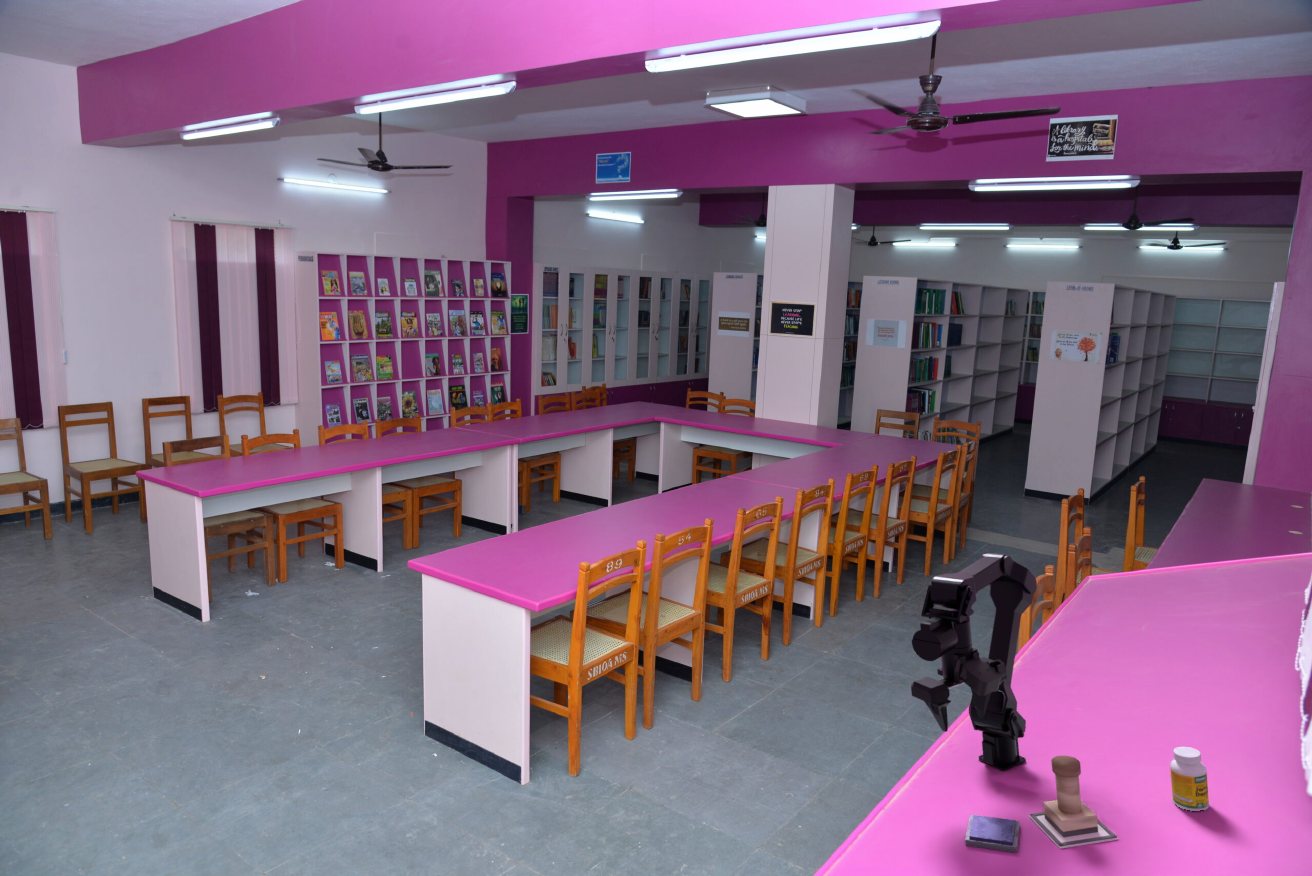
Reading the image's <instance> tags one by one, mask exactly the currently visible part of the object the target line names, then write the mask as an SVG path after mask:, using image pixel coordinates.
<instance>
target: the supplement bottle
mask: <svg viewBox="0 0 1312 876" xmlns="http://www.w3.org/2000/svg"><path fill="white" fill-rule="evenodd" d="M1169 766H1170V767H1169V769H1170V770H1169V771H1170V781H1171V796H1172V801H1173V804H1176V805H1177V807H1178V808H1179V807H1180V808H1179V809H1181V808H1183V809H1182V810H1184V809H1186V810H1185V811H1187V810H1190V811H1189V812H1192V811H1200V810H1204V811H1207V810H1208V808H1209V807H1210V804H1209V803H1210V801H1209V785H1208V771H1207V768H1206V766H1205V764H1204V763H1203V762H1202V753H1201V752H1200V751H1199V750H1198V749H1196V748H1194V747H1190V746H1189V747H1188V746H1177V747H1175V748H1174V749H1173V759H1172V760H1171V761H1170V764H1169ZM1176 805H1175V806H1176Z"/></svg>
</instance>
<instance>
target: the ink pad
mask: <svg viewBox="0 0 1312 876" xmlns="http://www.w3.org/2000/svg"><path fill="white" fill-rule="evenodd" d="M1020 827H1021V826H1020V820H1015V819H1009V818H1001V817H993V816H985V815H977V814H970V815H969V820H968V824H967V829H966V834H965V839H964V841H965V843H964V844H965V846H966V847H974V848H980V849H988V850H995V851H1000V852H1001V851H1002V852H1006V853H1007V852H1009V853H1015V854H1017V853H1018V847H1019V837H1020Z"/></svg>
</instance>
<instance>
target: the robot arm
mask: <svg viewBox="0 0 1312 876" xmlns="http://www.w3.org/2000/svg"><path fill="white" fill-rule="evenodd" d="M1037 585H1038V582H1037V578H1036V577H1035V576H1034V574H1033V573H1032V571H1030V569H1029V568H1027V567H1025V566H1024V565H1022V564H1020V563H1018V562H1016V561H1015V560H1013V558H1012V557H1011V556H1010V555H1008V554H1005V553H994V552H987V553H983V554H982V555H981V557H980V558H979V559H978V560H976V561H974V562H972V563H971V564H970V565H968V566H967V567H965V568H962V569H961V570H960V571H958V572H955V573H954V572H953V573H943V574H939V575H935V576H933V578H932V579H931V580H930V582H929V584H928V585H927V589H926V594H925V597H924V598H925V599H924V602H923V605H922V606H923V607H922V610H921V614H920V615H921V617H922V618H928V619H927V620H924V621H922V622H920V624H919V625H920V626H919V629H918V630H916V631H915V632H914V634H913V636H912V639H911V645H912V649H913V650H914V653H915V654H916V655H917V656H918V657H919V658H920V659H922V660H924V661H926V662H934V661H936V660H938V659H940V660H941V661H940V662H941V667H939V668H937V670H936V671H937V675H939V676H942V678H943V679H940V680H937V679H935V678H932V677H931V676H926V677H923V678H919V679H918V680H917V679H916V680H914V681H913V682H912V683H911V684H910V693H911V696H912V697H913V698H916V699H918V700H920V701H922V702H924V703H925V706H927V708H928V710H929V711H930V712H931V713H932V715H933V717H934V719H935V721H936V722H937V724H938V726H939V728H940V729H941V731H943V732H945V733H947V732H948V728H949V722H948V720H949V719H948V708H947V707H948V706H949V705H950V704H951V703H952V701H951V700H950V699H949V697H950V690H951V689H954V688H956V687H958V686H959V687H960V686H962V685H965V684H966V686H968V687H969V688H970V690H971V700H970V703H969V705H968V716H969V718H970V720H971V724H972V728H973V730H974V731H980V732H981V734H982V735H981V736H982V741H981V746H982V747H981V748H982V754H981V755H979V756H978V760H980V761H982V762H984V763H986V764H988V765H990V766H992V767H994V768H997V769H998V770H1000V771H1007V770H1009V769H1011V768H1013V767H1016V766H1018V765H1020V764H1022V763H1025V762H1027V759H1026V757H1025V756H1024V757H1023V756H1021V755H1020V750H1019V749H1020V748H1019V739H1020V738H1021V739H1022V738H1024V737H1025V732H1026V729H1027V727H1026V725H1027V724H1026V723H1027V722H1026V719H1025V718H1024V717H1023V716H1022V715H1021V714H1020V713H1019V711H1018V701H1017V699H1016V696H1015V694H1014V692H1013V689H1012V687H1011V686H1012V680H1013V679H1012V678H1013V671H1014V665H1015V658H1016V653H1017V646H1018V645H1017V644H1018V638H1019V633H1020V632H1019V631H1020V624H1021V620H1022V618H1021V617H1022V615H1023V614H1024V613H1025V611H1026V610H1027V609H1028V608H1029V607H1031V605H1032V604H1033V600H1034V594H1035V593H1036V591H1037V587H1038V586H1037ZM987 586H988V587H989V596H990V598H991V600H992V603H993V605H994V608H995V613H994V619H993V625H992V633H991V640H990V644H989V651H988V657H985V656H984V657H980V652H979V651H978V649H977V648H974V647H973V641H972V631H971V630H972V629H971V628H972V627H971V617H970V616H972V615H974V614H975V611H974V609H972V606H973V605H974V604H975V603H976V601H977V593H978V592H980V591H981V590H983V589H984V588H986V587H987ZM935 607H936V608H935ZM937 607H938V608H937ZM942 608H943V609H942Z"/></svg>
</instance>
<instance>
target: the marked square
mask: <svg viewBox="0 0 1312 876" xmlns="http://www.w3.org/2000/svg"><path fill="white" fill-rule="evenodd" d="M1028 817H1029V818H1030V819H1031V820H1032V821H1033V822H1034V823H1035V825H1036V826H1037V827H1038V828H1039V829H1040V830H1041V831H1042V832H1043V833H1044V834H1045V835H1046V836H1047V838H1049V839H1050V840H1051V841H1052V843H1054V844H1055V846H1056V847H1057V848H1058V849H1060V850H1061V849H1065V848H1073V847H1080V846H1085V845H1092V844H1098V843H1105V842H1111V841H1118V840H1119V837H1118V836H1117V834H1115V833H1114V832H1113V831H1112V830H1111V829H1109V827H1107V826H1106V825H1105V824H1104V822H1103V823H1102V821H1100V819H1098V818H1097V823H1098V832H1096V833H1089V834H1083V835H1076V836H1070V837H1063V836H1062V835H1061V834H1060V833H1059V832H1058V831H1057V830H1056V829H1055V828H1054V827H1053V826H1052V825H1051V824H1050V823H1049V822H1048V821H1047V820H1046V819H1045V815H1044V811H1040V812H1034V813H1029V814H1028Z"/></svg>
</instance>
